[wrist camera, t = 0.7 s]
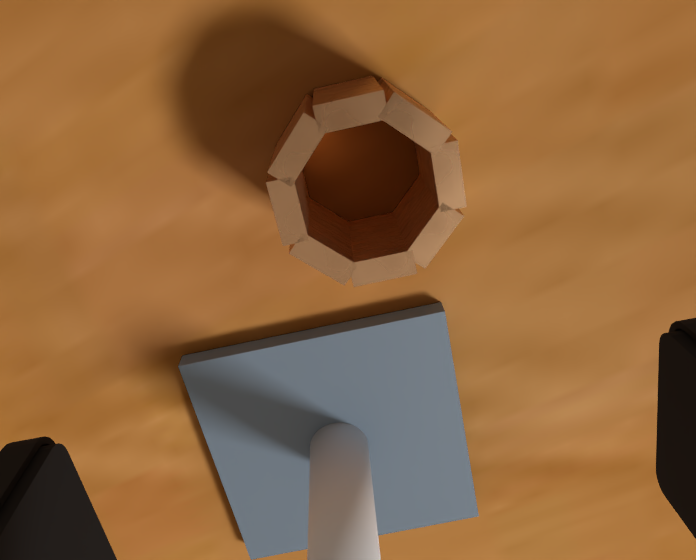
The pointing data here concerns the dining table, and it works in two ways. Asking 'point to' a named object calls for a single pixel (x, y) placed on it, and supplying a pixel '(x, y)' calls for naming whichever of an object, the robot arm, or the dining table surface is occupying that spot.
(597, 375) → the dining table surface
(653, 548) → the dining table surface
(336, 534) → the piston stand
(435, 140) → the ring
